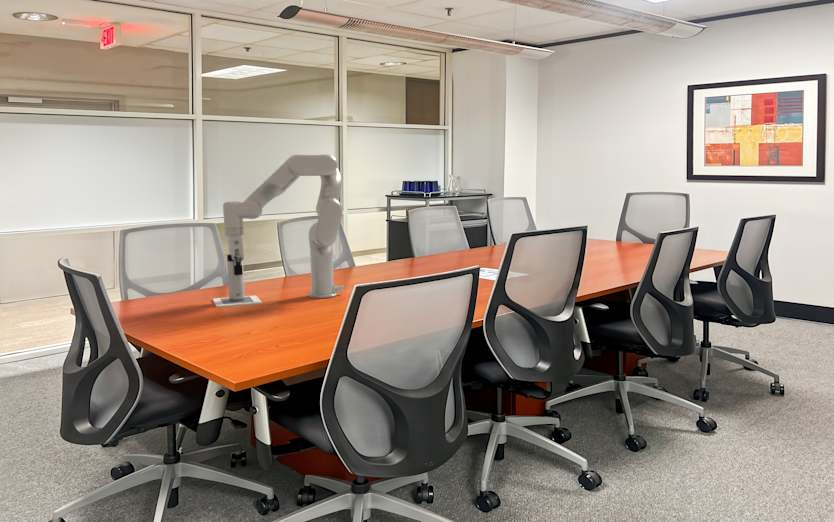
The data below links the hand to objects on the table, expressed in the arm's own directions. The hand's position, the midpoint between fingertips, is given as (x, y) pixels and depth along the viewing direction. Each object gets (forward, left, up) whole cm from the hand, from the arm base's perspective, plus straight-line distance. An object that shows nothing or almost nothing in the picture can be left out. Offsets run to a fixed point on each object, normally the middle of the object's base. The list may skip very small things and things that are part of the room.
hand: (236, 273), depth 299 cm
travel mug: (0, 0, -12) cm, 12 cm away
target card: (+1, 0, -12) cm, 12 cm away
